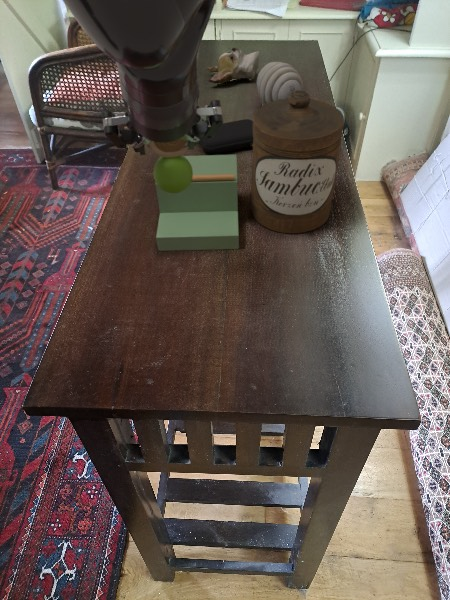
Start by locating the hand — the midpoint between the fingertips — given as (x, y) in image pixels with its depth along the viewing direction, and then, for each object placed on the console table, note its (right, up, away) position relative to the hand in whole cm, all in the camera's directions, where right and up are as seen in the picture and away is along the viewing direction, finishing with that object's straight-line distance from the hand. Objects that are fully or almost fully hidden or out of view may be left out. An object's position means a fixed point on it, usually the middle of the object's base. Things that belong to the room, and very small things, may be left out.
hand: (165, 145), depth 62 cm
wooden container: (+20, -4, +25) cm, 32 cm away
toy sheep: (+21, +26, +53) cm, 63 cm away
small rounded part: (0, -6, +3) cm, 7 cm away
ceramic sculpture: (+10, +41, +67) cm, 79 cm away
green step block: (+3, -7, +22) cm, 24 cm away
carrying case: (+9, +15, +43) cm, 46 cm away
